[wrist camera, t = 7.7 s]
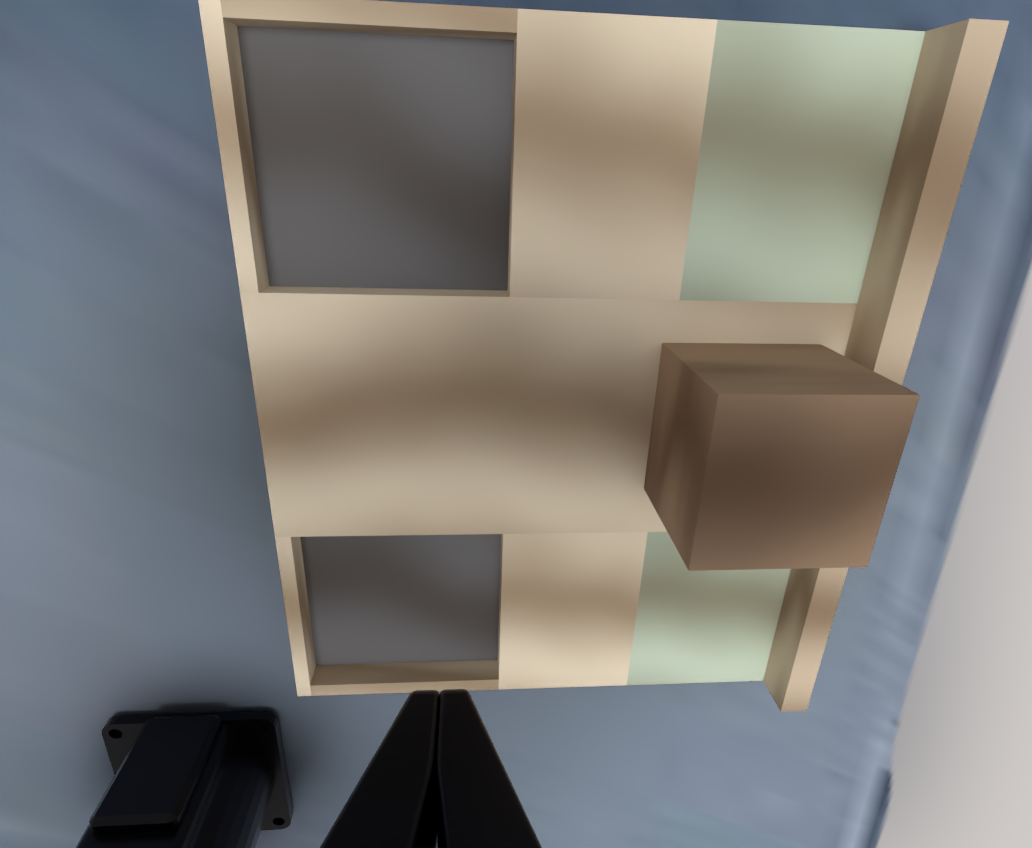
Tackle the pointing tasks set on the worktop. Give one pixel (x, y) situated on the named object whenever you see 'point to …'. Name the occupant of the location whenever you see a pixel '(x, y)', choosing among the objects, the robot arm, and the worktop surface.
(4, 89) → the worktop surface
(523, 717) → the worktop surface
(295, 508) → the trap board
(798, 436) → the walnut block
